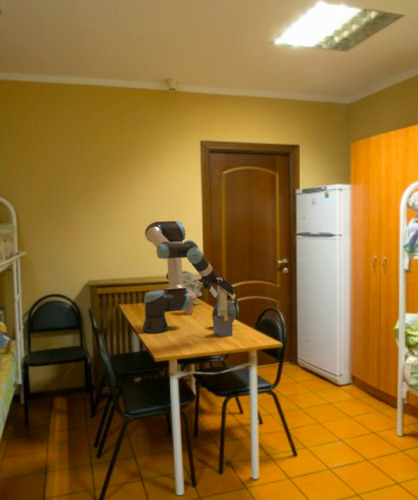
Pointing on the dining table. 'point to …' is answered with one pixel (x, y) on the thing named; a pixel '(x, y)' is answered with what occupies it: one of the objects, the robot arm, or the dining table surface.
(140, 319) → the dining table surface
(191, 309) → the ice cream cone
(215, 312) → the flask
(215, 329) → the stand base
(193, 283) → the sculpture
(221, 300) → the column
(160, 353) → the dining table surface
